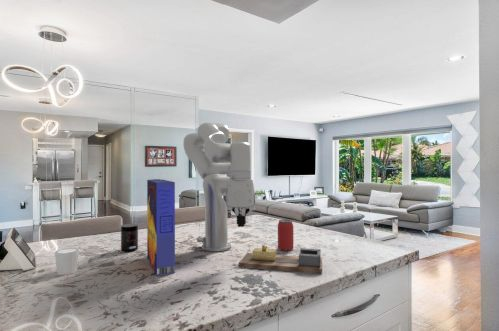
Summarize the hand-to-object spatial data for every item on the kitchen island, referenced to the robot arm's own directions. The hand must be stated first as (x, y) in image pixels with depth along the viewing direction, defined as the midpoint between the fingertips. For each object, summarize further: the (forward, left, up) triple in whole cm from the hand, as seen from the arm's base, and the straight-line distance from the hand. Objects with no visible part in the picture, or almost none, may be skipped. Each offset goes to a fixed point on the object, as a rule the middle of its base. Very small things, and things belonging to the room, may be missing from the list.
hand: (241, 226), depth 108 cm
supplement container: (-49, +3, -13) cm, 51 cm away
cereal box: (-27, -10, -13) cm, 32 cm away
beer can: (+14, +20, -13) cm, 28 cm away
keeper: (+25, 0, -12) cm, 27 cm away
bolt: (+9, 0, -11) cm, 14 cm away
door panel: (+15, 0, -13) cm, 20 cm away
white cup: (-53, -24, -13) cm, 60 cm away
